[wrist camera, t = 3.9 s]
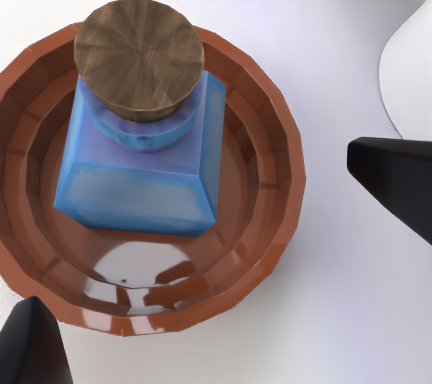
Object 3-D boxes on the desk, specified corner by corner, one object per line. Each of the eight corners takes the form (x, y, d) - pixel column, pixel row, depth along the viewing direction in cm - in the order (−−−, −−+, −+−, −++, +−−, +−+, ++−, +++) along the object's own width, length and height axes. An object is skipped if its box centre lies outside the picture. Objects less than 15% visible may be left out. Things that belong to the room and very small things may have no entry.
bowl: (316, 153, 23) (354, 125, 18) (186, 378, 18) (196, 410, 14) (119, 22, 22) (110, -38, 18) (-60, 217, 18) (-128, 199, 14)
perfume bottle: (103, 124, 20) (33, -74, 9) (206, 137, 21) (266, -24, 10) (85, 227, 19) (-26, 154, 7) (197, 238, 20) (256, 187, 8)
